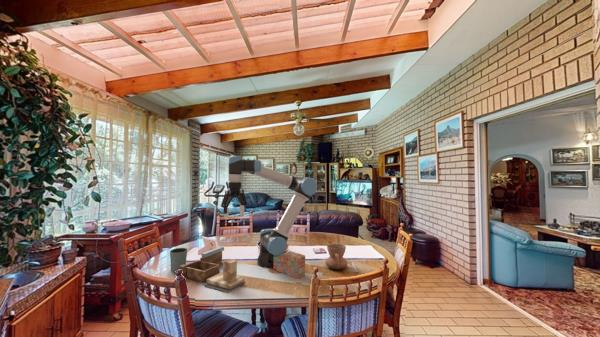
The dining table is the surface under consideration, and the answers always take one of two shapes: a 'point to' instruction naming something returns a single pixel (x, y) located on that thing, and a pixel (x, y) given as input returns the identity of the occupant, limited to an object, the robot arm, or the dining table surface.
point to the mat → (221, 287)
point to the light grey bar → (212, 252)
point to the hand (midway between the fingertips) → (234, 217)
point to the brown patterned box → (290, 264)
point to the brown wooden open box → (202, 268)
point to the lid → (227, 276)
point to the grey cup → (178, 258)
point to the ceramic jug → (336, 256)
